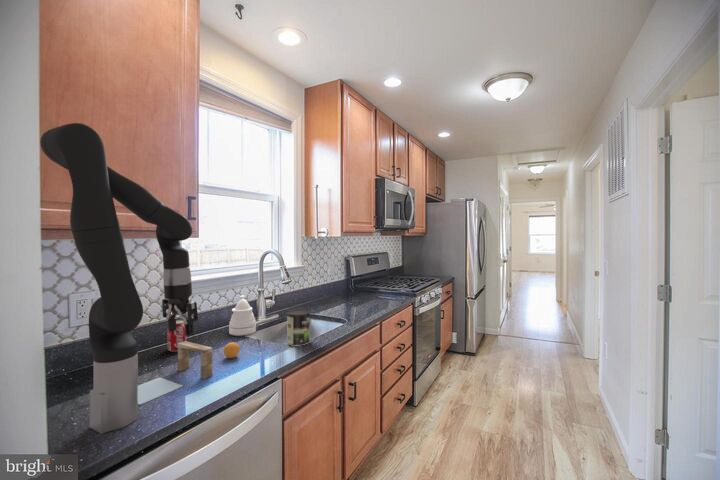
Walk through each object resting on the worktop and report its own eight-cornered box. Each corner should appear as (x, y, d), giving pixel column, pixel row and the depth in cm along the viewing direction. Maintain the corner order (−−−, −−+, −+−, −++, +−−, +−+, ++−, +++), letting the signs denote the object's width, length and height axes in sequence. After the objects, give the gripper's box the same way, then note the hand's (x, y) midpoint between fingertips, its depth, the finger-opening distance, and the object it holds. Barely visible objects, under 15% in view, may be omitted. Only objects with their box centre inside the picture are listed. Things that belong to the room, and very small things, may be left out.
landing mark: (139, 405, 92) (139, 404, 92) (116, 394, 98) (116, 393, 98) (183, 386, 103) (183, 385, 103) (159, 377, 109) (159, 377, 109)
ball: (230, 361, 124) (230, 346, 124) (220, 358, 126) (220, 343, 126) (242, 356, 129) (242, 341, 129) (232, 353, 132) (232, 339, 132)
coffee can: (313, 340, 149) (313, 310, 149) (302, 347, 139) (302, 315, 139) (294, 338, 152) (294, 309, 152) (282, 345, 143) (282, 313, 143)
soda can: (189, 347, 140) (189, 319, 139) (179, 353, 133) (179, 324, 132) (174, 346, 140) (174, 319, 140) (163, 352, 133) (163, 323, 133)
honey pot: (228, 329, 166) (228, 295, 166) (254, 327, 171) (254, 293, 171) (229, 336, 154) (229, 299, 154) (257, 333, 160) (257, 297, 159)
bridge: (204, 378, 109) (204, 350, 109) (177, 369, 116) (177, 343, 116) (212, 375, 111) (212, 347, 111) (185, 366, 118) (185, 341, 118)
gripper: (151, 282, 99) (155, 333, 100) (180, 286, 92) (183, 340, 93) (175, 278, 105) (178, 326, 106) (203, 281, 99) (206, 332, 100)
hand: (180, 333), depth 100 cm, fingers open, 8 cm apart
